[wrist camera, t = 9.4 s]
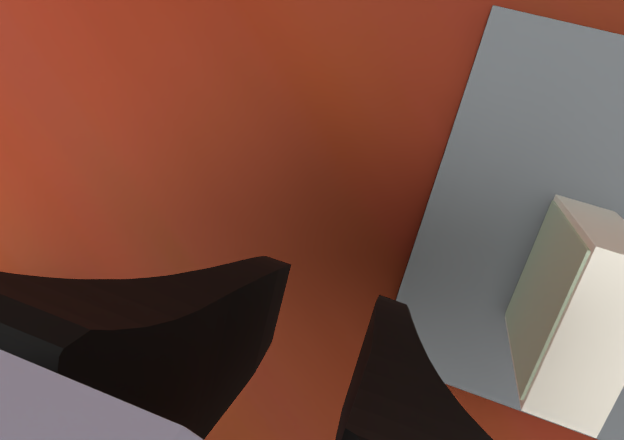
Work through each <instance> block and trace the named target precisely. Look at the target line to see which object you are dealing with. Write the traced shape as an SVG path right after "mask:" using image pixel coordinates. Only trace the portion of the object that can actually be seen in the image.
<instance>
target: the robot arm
mask: <svg viewBox="0 0 624 440" xmlns="http://www.w3.org/2000/svg"><path fill="white" fill-rule="evenodd" d="M290 266H291V265H290V264H287V263H285V262H282V261H279V260H276V259H273V258H270V257H267V256H261V257H255V258H250V259H246V260H241V261H237V262H233V263H229V264H224V265H220V266H216V267H212V268H207V269H202V270H196V271H191V272H185V273H180V274H174V275H168V276H160V277H150V278H138V279H63V278H49V277H38V276H28V275H20V274H12V273H5V272H0V440H204V439H205V437H206V436H207V435H208V434H209V432H210V431H211V430H212V428H213V427H214V426H215V424H216V423H217V422H218V421H219V419H220V418H221V417H222V415H223V414H224V413H225V412H226V410H227V409H228V408H229V406H230V405H231V404H232V402H233V401H234V400H235V399H236V397H237V396H238V395H239V393H240V392H241V391H242V389H243V388H244V387H245V385H246V384H247V383H248V381H249V380H250V379H251V377H252V376H253V375H254V373H255V371H256V369H257V368H258V366H259V364H260V362H261V361H262V359H263V357H264V355H265V353H266V352H267V350H268V348H269V346H270V344H271V342H272V339H273V335H274V331H275V327H276V323H277V319H278V315H279V311H280V307H281V303H282V299H283V295H284V291H285V287H286V282H287V278H288V274H289V270H290ZM335 440H493V439H492V438H491V437H490V436H489V435H488V434H487V433H486V432H485V431H484V430H483V429H482V428H481V427H480V426H479V425H478V424H477V423H476V422H475V420H474V419H473V418H472V417H471V416H470V415H469V414H468V413H467V412H466V411H465V409H464V408H463V407H462V406H461V405H460V403H459V402H458V401H457V400H456V398H455V397H454V396H453V394H452V393H451V392H450V390H449V389H448V388H447V386H446V385H445V384H444V382H443V381H442V379H441V378H440V376H439V375H438V373H437V371H436V369H435V368H434V366H433V364H432V363H431V361H430V359H429V357H428V355H427V353H426V351H425V349H424V347H423V345H422V342H421V340H420V338H419V336H418V333H417V331H416V328H415V325H414V323H413V320H412V317H411V313H410V310H409V308H408V306H407V304H404V303H401V302H398V301H395V300H393V299H390V298H387V297H384V296H381V295H379V297H378V299H377V301H376V304H375V307H374V310H373V313H372V316H371V320H370V323H369V326H368V329H367V332H366V335H365V339H364V342H363V345H362V348H361V351H360V354H359V358H358V361H357V364H356V367H355V370H354V373H353V377H352V380H351V383H350V386H349V389H348V392H347V396H346V399H345V402H344V405H343V408H342V412H341V417H340V421H339V426H338V430H337V435H336V439H335Z"/></svg>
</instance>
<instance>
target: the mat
mask: <svg viewBox="0 0 624 440" xmlns="http://www.w3.org/2000/svg"><path fill="white" fill-rule="evenodd" d="M555 195H560V196H563V197H567V198H570V199H573V200H577V201H580V202H584V203H587V204H591V205H594V206H597V207H601V208H604V209H608V210H611V211H615V212H616V213H617V214H618V215H619V216H620V217H622V218H623V219H624V35H620V34H616V33H611V32H607V31H603V30H598V29H594V28H590V27H585V26H581V25H577V24H572V23H568V22H563V21H559V20H555V19H550V18H546V17H542V16H537V15H533V14H529V13H524V12H520V11H516V10H511V9H507V8H503V7H498V6H494V5H493V6H492V9H491V12H490V15H489V18H488V21H487V24H486V27H485V30H484V33H483V36H482V39H481V42H480V46H479V49H478V52H477V55H476V58H475V61H474V64H473V67H472V70H471V73H470V76H469V79H468V82H467V85H466V88H465V91H464V94H463V97H462V100H461V103H460V106H459V109H458V112H457V115H456V119H455V122H454V125H453V128H452V131H451V134H450V137H449V140H448V143H447V146H446V149H445V152H444V155H443V158H442V161H441V164H440V167H439V170H438V173H437V176H436V179H435V182H434V185H433V188H432V192H431V195H430V198H429V201H428V204H427V207H426V210H425V213H424V216H423V219H422V222H421V225H420V228H419V231H418V234H417V237H416V240H415V243H414V246H413V249H412V252H411V255H410V258H409V261H408V265H407V268H406V271H405V274H404V277H403V280H402V283H401V286H400V289H399V292H398V295H397V298H396V301H398V302H401V303H404V304H407V306H408V308H409V310H410V313H411V317H412V320H413V323H414V325H415V328H416V331H417V333H418V336H419V338H420V340H421V342H422V345H423V347H424V349H425V351H426V353H427V355H428V357H429V359H430V361H431V363H432V364H433V366H434V368H435V369H436V371H437V373H438V375H439V376H440V378H441V379H442V381H443V382H444V383H445V384H448V385H451V386H453V387H456V388H459V389H462V390H464V391H467V392H470V393H472V394H475V395H478V396H481V397H483V398H486V399H489V400H492V401H494V402H497V403H500V404H503V405H505V406H508V407H511V408H513V409H516V410H519V411H521V407H520V401H519V395H518V389H517V384H516V378H515V372H514V367H513V361H512V355H511V350H510V344H509V338H508V332H507V327H506V321H505V313H506V310H507V308H508V305H509V303H510V301H511V298H512V296H513V293H514V291H515V289H516V286H517V284H518V281H519V279H520V276H521V274H522V272H523V269H524V267H525V264H526V262H527V259H528V257H529V255H530V252H531V250H532V247H533V245H534V243H535V240H536V238H537V235H538V233H539V230H540V228H541V226H542V223H543V221H544V218H545V216H546V213H547V211H548V209H549V206H550V204H551V201H552V200H553V199H554V197H555ZM522 412H524V411H522ZM524 413H526V412H524ZM527 414H529V413H527ZM530 415H532V414H530ZM533 416H534V415H533ZM535 417H537V416H535ZM538 418H540V417H538ZM541 419H543V418H541ZM544 420H545V419H544ZM546 421H548V420H546ZM549 422H551V421H549ZM552 423H553V422H552ZM555 424H556V423H555ZM557 425H559V424H557ZM560 426H562V425H560ZM563 427H564V426H563ZM565 428H567V427H565ZM568 429H570V428H568ZM571 430H572V429H571ZM574 431H575V430H574ZM576 432H578V431H576ZM579 433H581V432H579ZM582 434H583V433H582ZM585 435H586V434H585ZM587 436H589V435H587ZM590 437H591V436H590ZM593 438H594V437H593ZM596 439H598V440H624V387H623V389H622V390H621V392H620V394H619V396H618V398H617V400H616V402H615V404H614V406H613V408H612V410H611V411H610V413H609V415H608V417H607V419H606V421H605V423H604V425H603V427H602V429H601V431H600V432H599V434H598V436H597V438H596Z"/></svg>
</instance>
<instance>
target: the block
mask: <svg viewBox="0 0 624 440" xmlns="http://www.w3.org/2000/svg"><path fill="white" fill-rule="evenodd" d="M505 321H506V327H507V332H508V338H509V344H510V350H511V355H512V361H513V367H514V372H515V378H516V384H517V389H518V395H519V401H520V407H521V411H524V412H526V413H529V414H532V415H534V416H537V417H540V418H543V419H545V420H548V421H551V422H553V423H556V424H559V425H562V426H564V427H567V428H570V429H572V430H575V431H578V432H581V433H583V434H586V435H589V436H591V437H594V438H597V436H598V434H599V432H600V431H601V429H602V427H603V425H604V423H605V421H606V419H607V417H608V415H609V413H610V411H611V410H612V408H613V406H614V404H615V402H616V400H617V398H618V396H619V394H620V392H621V390H622V389H623V387H624V219H623V218H622V217H620V216H619V215H618V214H617V213H616V212H615V211H611V210H608V209H604V208H601V207H597V206H594V205H591V204H587V203H584V202H580V201H577V200H573V199H570V198H567V197H563V196H560V195H555V197H554V199H553V200H552V201H551V204H550V206H549V209H548V211H547V213H546V216H545V218H544V221H543V223H542V226H541V228H540V230H539V233H538V235H537V238H536V240H535V243H534V245H533V247H532V250H531V252H530V255H529V257H528V259H527V262H526V264H525V267H524V269H523V272H522V274H521V276H520V279H519V281H518V284H517V286H516V289H515V291H514V293H513V296H512V298H511V301H510V303H509V305H508V308H507V310H506V313H505Z"/></svg>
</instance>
